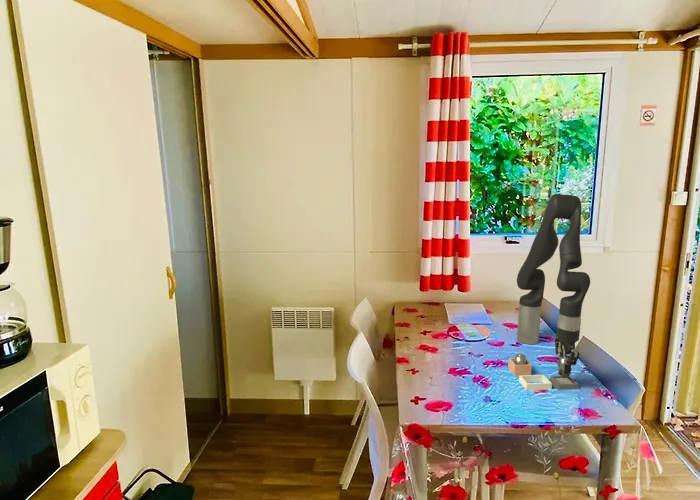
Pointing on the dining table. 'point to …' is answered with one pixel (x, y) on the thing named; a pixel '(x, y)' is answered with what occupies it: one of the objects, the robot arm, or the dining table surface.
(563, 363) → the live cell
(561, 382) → the plate
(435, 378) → the dining table surface
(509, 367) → the tan open box
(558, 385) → the grey square pedestal
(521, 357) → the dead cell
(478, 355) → the dining table surface
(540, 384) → the trough
